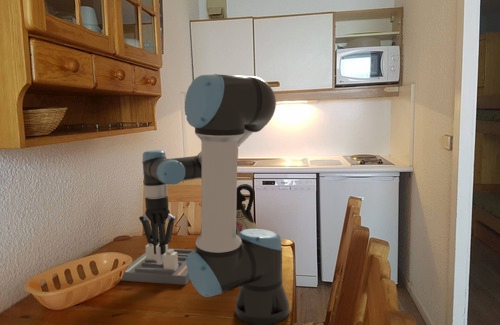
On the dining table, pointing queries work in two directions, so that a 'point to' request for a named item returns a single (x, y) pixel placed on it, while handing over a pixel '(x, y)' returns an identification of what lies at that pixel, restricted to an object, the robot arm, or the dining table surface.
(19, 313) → the dining table surface
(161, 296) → the dining table surface
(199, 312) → the dining table surface
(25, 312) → the dining table surface
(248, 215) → the ceramic jug
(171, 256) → the block
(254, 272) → the robot arm
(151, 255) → the handle
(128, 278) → the tray
